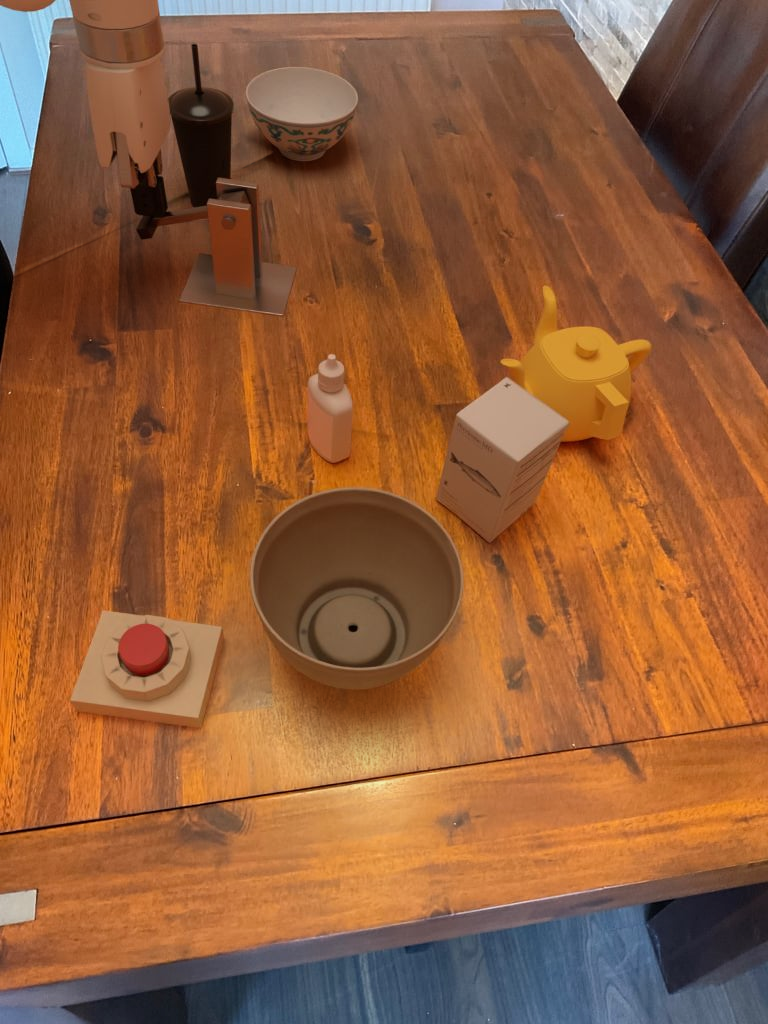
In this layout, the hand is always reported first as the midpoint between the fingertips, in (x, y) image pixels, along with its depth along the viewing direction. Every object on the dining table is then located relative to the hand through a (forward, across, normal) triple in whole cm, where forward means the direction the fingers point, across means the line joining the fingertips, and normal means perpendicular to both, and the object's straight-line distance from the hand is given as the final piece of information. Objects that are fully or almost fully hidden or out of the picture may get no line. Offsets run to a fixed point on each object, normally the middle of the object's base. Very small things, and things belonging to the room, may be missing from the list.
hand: (151, 212), depth 87 cm
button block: (+9, +49, +12) cm, 51 cm away
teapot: (+10, +12, +46) cm, 49 cm away
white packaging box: (+9, +27, +39) cm, 48 cm away
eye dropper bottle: (+9, +22, +23) cm, 33 cm away
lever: (+1, 0, +5) cm, 5 cm away
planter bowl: (+9, +43, +28) cm, 52 cm away
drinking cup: (+9, -15, +2) cm, 18 cm away
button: (+5, +49, +13) cm, 51 cm away
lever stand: (+9, 0, +9) cm, 13 cm away
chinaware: (+9, -32, +11) cm, 35 cm away
